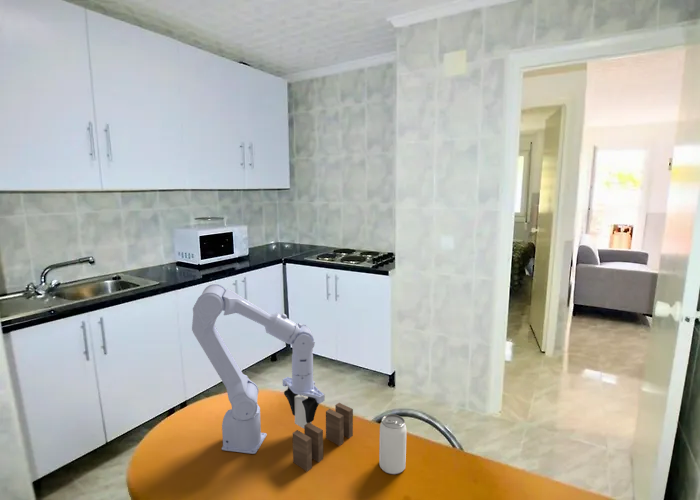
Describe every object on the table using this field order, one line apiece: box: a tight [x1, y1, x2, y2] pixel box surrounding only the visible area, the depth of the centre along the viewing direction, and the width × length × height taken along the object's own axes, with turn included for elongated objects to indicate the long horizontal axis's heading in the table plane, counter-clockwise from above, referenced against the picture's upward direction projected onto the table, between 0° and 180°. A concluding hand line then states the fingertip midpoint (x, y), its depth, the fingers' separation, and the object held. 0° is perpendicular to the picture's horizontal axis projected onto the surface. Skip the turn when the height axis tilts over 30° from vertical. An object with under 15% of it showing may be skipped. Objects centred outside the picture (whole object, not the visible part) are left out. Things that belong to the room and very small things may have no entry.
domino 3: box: [303, 423, 324, 463], centre depth 93 cm, size 2×5×8 cm, turn 51°
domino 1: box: [294, 395, 313, 429], centre depth 101 cm, size 2×5×8 cm, turn 51°
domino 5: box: [334, 402, 354, 439], centre depth 102 cm, size 2×5×8 cm, turn 51°
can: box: [378, 413, 407, 475], centre depth 90 cm, size 6×6×12 cm
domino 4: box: [325, 408, 345, 447], centre depth 99 cm, size 2×5×8 cm, turn 51°
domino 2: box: [292, 429, 313, 472], centre depth 90 cm, size 2×5×8 cm, turn 51°
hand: (303, 417), depth 101 cm, fingers closed on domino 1, 5 cm apart
